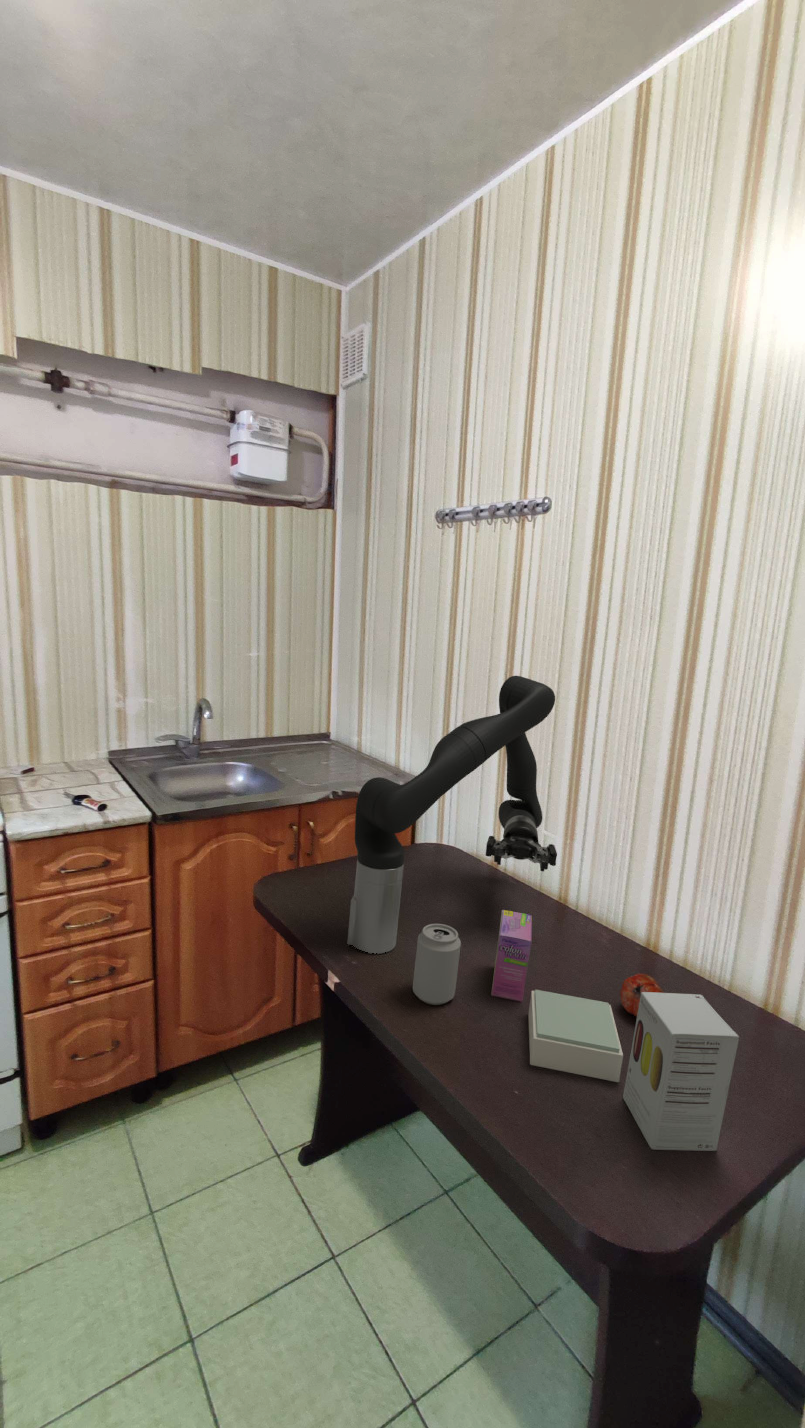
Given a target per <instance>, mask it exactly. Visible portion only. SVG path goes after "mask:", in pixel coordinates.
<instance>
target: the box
mask: <svg viewBox="0 0 805 1428" xmlns="http://www.w3.org/2000/svg"><path fill="white" fill-rule="evenodd" d="M532 921H533V916H532V915H531V914H528V913H523V912H517V911H512V910H505V909H502V910H501V915H500V923H499V924H500V925H499V931H498V939H497V944H496V945H497V946H496V953H495V961H494V970H493V977H492V987H491V993H490V994H491V996H492V997H497V998H501V999H506V1000H509V1001H515V1002H524V1001H523V1000H524V994H525V986H526V979H527V973H528V966H529V960H530V954H531V953H530V952H531V949H532V933H533V931H532V929H533V928H532V926H533V925H532Z"/></svg>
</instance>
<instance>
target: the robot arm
mask: <svg viewBox="0 0 805 1428" xmlns="http://www.w3.org/2000/svg"><path fill="white" fill-rule="evenodd" d="M555 702H556V694H555V692H554V690H553V689H552V688H551V687H550V686H548V685H547V684H544V683H542V682H540V681H536V680H533V679H531V678H527V677H524V676H521V675H512V676H510V677H508V678H507V679H506V680H505V681H504V682H503V683H502V685H501V687H500V690H499V693H498V706H499V707H498V708H499V713H498V714H493V715H489V716H483V717H480V718H476V719H472V720H468V721H466V722H463V723H462V724H460V725H458V726H457V727H455V728H454V729H453V730H452V731H449V733H447V734H445V736H443V737H442V738H440V740H439V741H438V742H437V743H436V745H435V747H434V748H433V751H432V754H431V757H430V759H429V762H428V764H427V765H426V767H425V768H424V769H423V770H422V771H421V772H420V773H418V774H417V775H416V776H415V777H413V778H412V779H410V780H409V781H407V782H405V783H403V784H399V783H398V782H394V781H392V780H390V779H388V778H385V777H373V778H371V779H369V780H367V781H366V782H365V783H364V785H363V786H362V787H361V788H360V790H359V792H358V796H357V797H356V798H357V799H356V805H355V819H354V822H355V823H354V844H355V848H356V852H357V856H356V859H357V860H356V870H355V881H354V891H353V892H354V893H353V895H352V898H351V899H350V908H349V909H350V910H349V917H348V918H349V919H348V930H347V942H346V945H347V944H351V945H353V946H354V947H356V948H357V949H359V950H362V951H365V952H368V953H367V954H372V953H374V954H373V955H380V954H385V952H386V953H389V952H390V951H392V950H393V949H395V947H396V945H397V944H396V943H397V938H398V926H399V916H400V906H401V898H402V897H401V895H402V888H403V887H402V886H403V876H404V867H405V856H406V852H405V848H404V846H403V845H402V843H401V842H400V841H399V839H398V837H397V835H396V834H400V833H403V832H405V831H406V830H407V829H409V828H410V827H411V826H413V825H414V824H415V823H416V822H417V821H418V820H419V819H420V818H421V817H422V816H423V815H424V814H425V813H426V812H427V811H428V810H429V809H430V808H431V807H432V806H433V805H435V803H436V802H437V801H439V799H440V798H442V796H444V795H445V794H446V793H447V792H448V791H450V790H451V789H452V788H453V787H455V786H456V785H457V784H458V783H459V782H460V781H462V780H463V779H464V778H466V777H467V776H468V775H469V774H471V773H473V772H474V771H475V770H476V769H478V768H479V767H480V766H481V765H483V764H484V763H485V762H486V761H487V760H489V759H490V758H491V757H492V756H493V755H494V754H496V753H497V752H498V751H500V750H502V748H504V747H505V751H506V792H507V794H508V795H509V796H510V797H512V798H513V799H506V800H504V801H502V802H501V803H500V805H499V808H498V819H499V822H500V825H501V827H502V828H503V834H502V838H503V839H501V840H497V838H495V836H494V835H488V837H487V838H488V839H487V842H486V847H485V856H486V857H488V858H489V857H492V856H493V862H494V863H496V865H497V866H501V864H502V859H505V860H506V859H507V860H508V859H510V858H513V859H515V860H519V861H524V860H528V861H530V862H532V863H533V864H539V869H540V872H545V870H548V869H549V865H550V866H552V867H555V866H557V865H556V864H557V857H558V852H557V849H556V846H555V845H554V844H553V843H551V844H548V845H546V846H542V844H540V843H539V842H540V841H539V832H538V828H539V827H540V826H541V824H542V822H543V811H542V808H541V805H540V801H539V798H538V794H537V778H538V777H537V776H538V768H537V765H538V764H537V760H536V757H535V754H534V751H533V748H532V746H531V744H530V742H529V740H528V737H527V735H526V733H527V732H529V731H530V730H531V729H534V727H537V726H538V725H539V724H540V723H542V722H544V720H545V719H546V718H548V716H549V715H550V713H551V711H552V710H553V708H554V706H555V704H556V703H555ZM353 946H352V947H353ZM354 947H353V948H354ZM356 948H355V949H356ZM357 949H356V950H357ZM359 950H358V951H359ZM362 951H361V952H362ZM365 952H364V953H365ZM376 953H377V954H376Z"/></svg>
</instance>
